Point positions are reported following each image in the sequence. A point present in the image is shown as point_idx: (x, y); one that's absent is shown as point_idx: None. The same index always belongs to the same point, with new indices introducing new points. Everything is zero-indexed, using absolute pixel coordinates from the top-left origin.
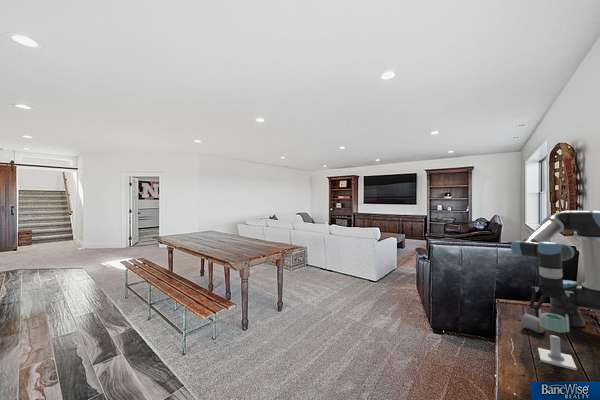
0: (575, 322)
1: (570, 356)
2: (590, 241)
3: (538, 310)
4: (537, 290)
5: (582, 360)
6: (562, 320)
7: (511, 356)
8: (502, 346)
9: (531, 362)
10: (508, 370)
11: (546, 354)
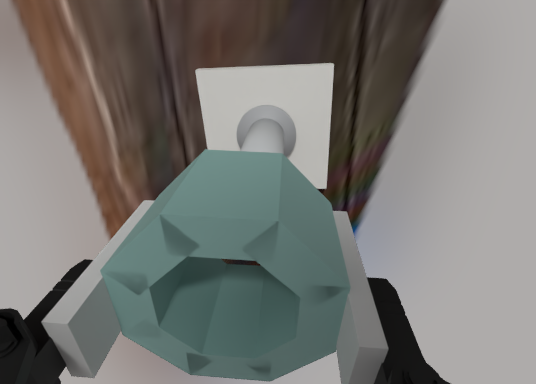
0: None
1: (328, 82)
2: None
3: (61, 367)
4: None
5: (375, 63)
6: (299, 362)
7: (128, 203)
8: (73, 135)
9: None
10: None
11: (232, 129)
